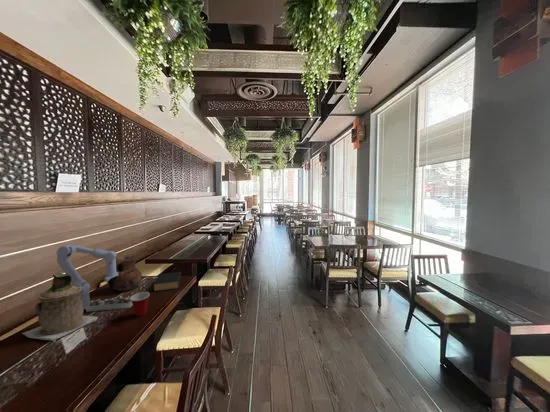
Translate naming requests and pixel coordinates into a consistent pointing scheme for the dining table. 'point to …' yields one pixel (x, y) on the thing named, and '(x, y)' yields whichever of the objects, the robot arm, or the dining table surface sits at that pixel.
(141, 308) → the plastic cup
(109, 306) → the power strip
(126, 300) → the rocker
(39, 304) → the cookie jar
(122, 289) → the jug
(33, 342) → the dining table surface
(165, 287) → the book
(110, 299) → the rocker
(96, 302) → the rocker
